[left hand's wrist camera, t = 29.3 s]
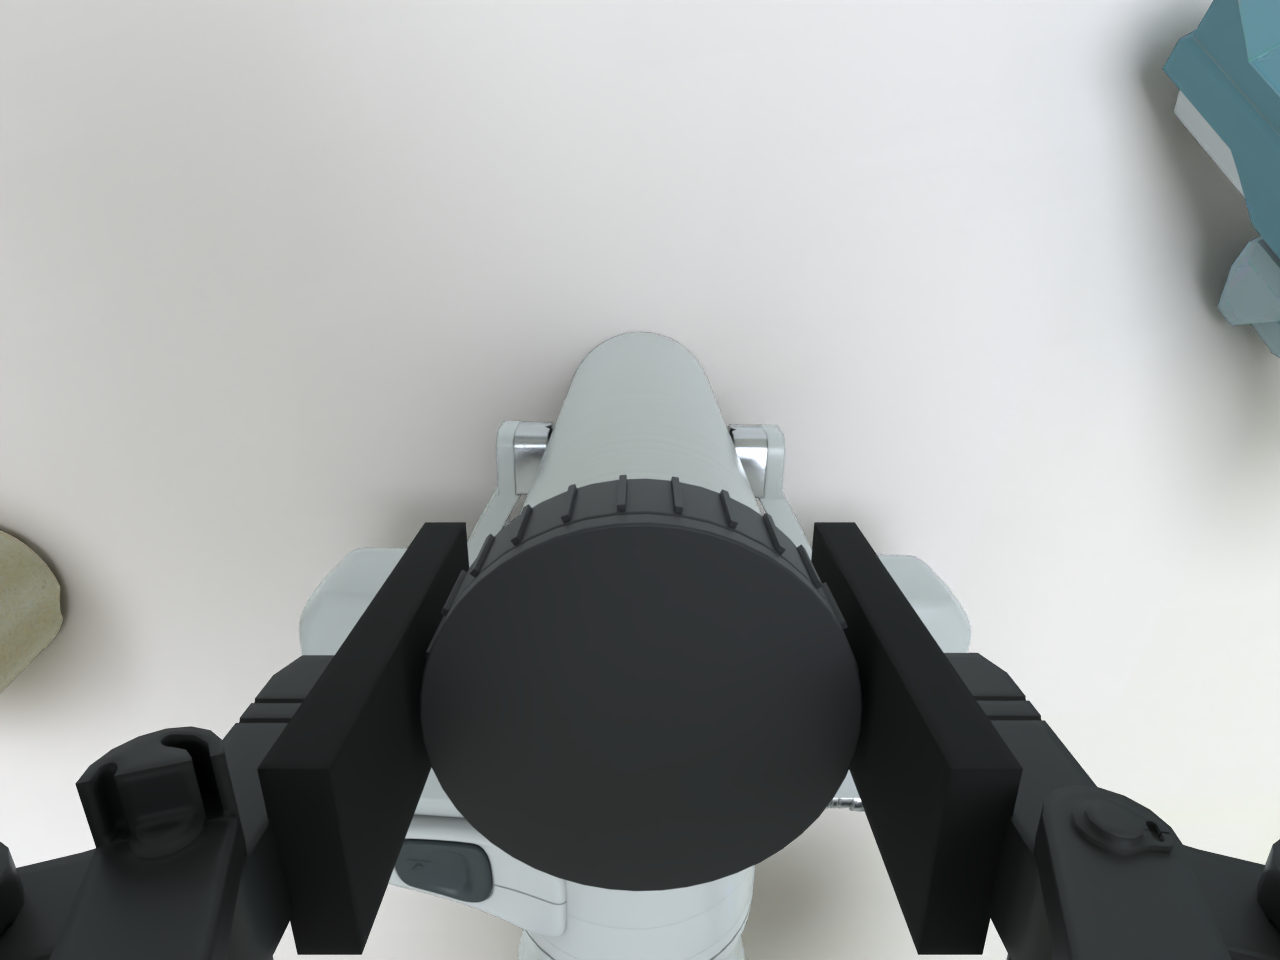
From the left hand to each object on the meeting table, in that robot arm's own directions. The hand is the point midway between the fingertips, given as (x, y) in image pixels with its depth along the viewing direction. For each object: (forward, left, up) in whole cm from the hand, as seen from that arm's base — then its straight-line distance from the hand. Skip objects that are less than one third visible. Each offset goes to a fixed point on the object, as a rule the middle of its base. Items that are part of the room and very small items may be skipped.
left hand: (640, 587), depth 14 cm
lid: (0, 0, +4) cm, 4 cm away
